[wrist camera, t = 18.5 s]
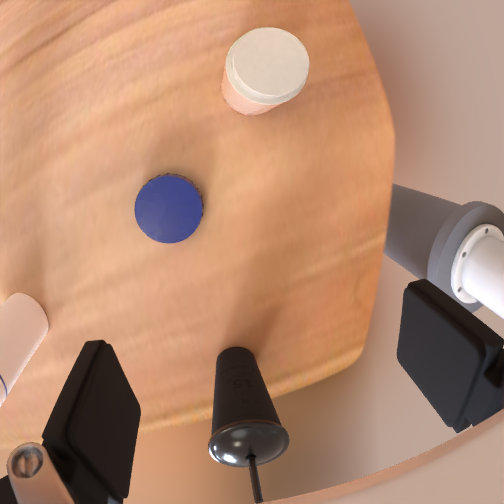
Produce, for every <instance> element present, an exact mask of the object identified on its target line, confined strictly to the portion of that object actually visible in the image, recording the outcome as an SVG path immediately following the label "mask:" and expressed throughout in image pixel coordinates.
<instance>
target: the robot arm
mask: <svg viewBox="0 0 504 504" xmlns="http://www.w3.org/2000/svg"><path fill="white" fill-rule="evenodd" d="M451 285H452V290H453V292H454V294H455V295H456V297H457V298H458V299H460V300H461V301H463V302H465V303H474V302H477V301H480V302H481V303H483V304H484V305H486V306H487V307H488V308H490V309H491V310H492V311H494V312H495V313H496V314H498V315H499V316H500V317H502V318H503V319H504V236H503V234H502V232H501V231H500V230H499V229H498V228H497V227H495V226H493V225H490V224H482V225H479V226H477V227H476V228H474V229H473V230H472V231H471V232H470V233H469V234H468V235H467V236H466V237H465V238H464V240H463V242H462V243H461V245H460V247H459V249H458V251H457V253H456V256H455V258H454V262H453V266H452V272H451ZM503 345H504V339H503V338H501V337H500V336H499V335H498V334H497V333H495V332H494V331H493V330H492V329H491V328H489V327H488V326H487V325H486V324H484V323H483V322H482V321H481V320H479V319H478V318H477V317H476V316H474V315H473V314H472V313H470V312H469V311H468V310H467V309H465V308H464V307H463V306H461V305H460V304H459V303H458V302H456V301H455V300H454V299H452V298H451V297H450V296H448V295H447V294H446V293H444V292H443V291H442V290H440V289H439V288H438V287H436V286H435V285H434V284H432V283H431V282H429V281H428V280H426V279H421V280H417V281H414V282H410V283H409V284H408V286H407V288H406V289H405V290H404V295H403V306H402V316H401V325H400V333H399V341H398V348H397V359H398V361H399V363H400V364H401V366H402V367H403V368H404V369H405V371H406V372H407V373H408V375H409V376H410V377H411V379H412V380H413V381H414V382H415V384H416V385H417V386H418V388H419V389H420V390H421V391H422V393H423V394H424V396H425V397H426V398H427V399H428V401H429V402H430V404H431V405H432V406H433V408H434V409H435V410H436V411H437V413H438V414H439V416H440V417H441V418H442V420H443V421H444V422H445V424H446V425H447V426H448V427H453V429H454V430H455V432H456V433H459V432H461V431H462V430H464V429H466V428H468V427H469V426H470V425H471V424H472V426H473V428H471V429H469V430H467V431H465V432H464V433H462V434H460V435H458V436H457V437H454V438H453V439H451V440H449V441H447V442H445V443H443V444H441V445H439V446H437V447H435V448H433V449H431V450H429V451H427V452H425V453H422V454H420V455H418V456H416V457H413V458H411V459H409V460H407V461H404V462H402V463H399V464H397V465H395V466H392V467H389V468H387V469H384V470H382V471H379V472H376V473H374V474H371V475H368V476H365V477H363V478H359V479H356V480H354V481H350V482H347V483H344V484H340V485H337V486H334V487H330V488H327V489H323V490H319V491H316V492H312V493H307V494H303V495H299V496H295V497H290V498H285V499H280V500H274V501H269V502H263V503H257V504H504V349H503ZM140 416H141V409H140V405H139V403H138V401H137V399H136V397H135V395H134V393H133V391H132V389H131V387H130V385H129V383H128V380H127V378H126V376H125V374H124V372H123V370H122V368H121V365H120V363H119V361H118V359H117V356H116V354H115V352H114V350H113V347H112V346H111V344H107V343H106V342H105V341H104V340H95V341H87V342H86V343H85V344H84V346H83V348H82V350H81V352H80V354H79V356H78V358H77V360H76V362H75V364H74V366H73V368H72V370H71V372H70V374H69V376H68V378H67V380H66V382H65V384H64V387H63V389H62V391H61V393H60V395H59V397H58V400H57V402H56V404H55V406H54V408H53V411H52V413H51V415H50V418H49V420H48V422H47V425H46V427H45V429H44V432H43V434H42V438H43V439H44V440H43V443H42V445H40V444H39V443H34V442H29V443H24V444H22V445H20V446H18V447H17V448H15V449H14V450H13V451H12V453H11V454H10V456H9V458H8V460H7V472H8V475H7V476H5V477H3V478H1V479H0V504H123V499H124V498H127V497H128V494H129V486H130V479H131V472H132V465H133V458H134V452H135V445H136V439H137V433H138V427H139V422H140Z"/></svg>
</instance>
